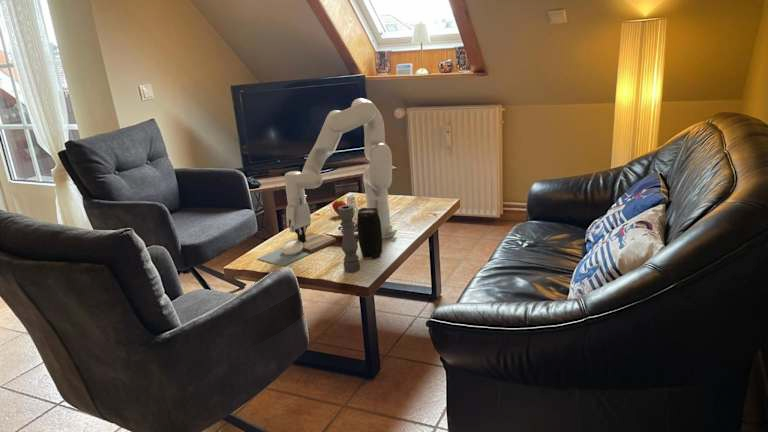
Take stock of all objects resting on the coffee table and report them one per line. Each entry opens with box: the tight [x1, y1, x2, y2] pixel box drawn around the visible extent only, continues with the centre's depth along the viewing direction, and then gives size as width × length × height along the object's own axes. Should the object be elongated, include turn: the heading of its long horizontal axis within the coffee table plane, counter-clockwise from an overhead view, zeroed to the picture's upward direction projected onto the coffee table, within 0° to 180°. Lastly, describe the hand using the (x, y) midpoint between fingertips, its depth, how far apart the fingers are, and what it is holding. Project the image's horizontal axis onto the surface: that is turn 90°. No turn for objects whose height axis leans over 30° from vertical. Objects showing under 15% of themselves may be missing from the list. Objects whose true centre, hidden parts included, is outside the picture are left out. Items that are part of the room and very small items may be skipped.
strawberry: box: [332, 196, 347, 216], centre depth 276 cm, size 6×8×10 cm
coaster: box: [281, 240, 304, 256], centre depth 234 cm, size 9×9×2 cm
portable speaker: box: [356, 207, 383, 260], centre depth 220 cm, size 9×9×20 cm
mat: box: [257, 247, 311, 267], centre depth 231 cm, size 16×15×1 cm
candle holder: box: [337, 204, 361, 274], centre depth 208 cm, size 6×6×25 cm
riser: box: [284, 232, 337, 254], centre depth 242 cm, size 16×15×2 cm
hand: (302, 241), depth 238 cm, fingers closed
